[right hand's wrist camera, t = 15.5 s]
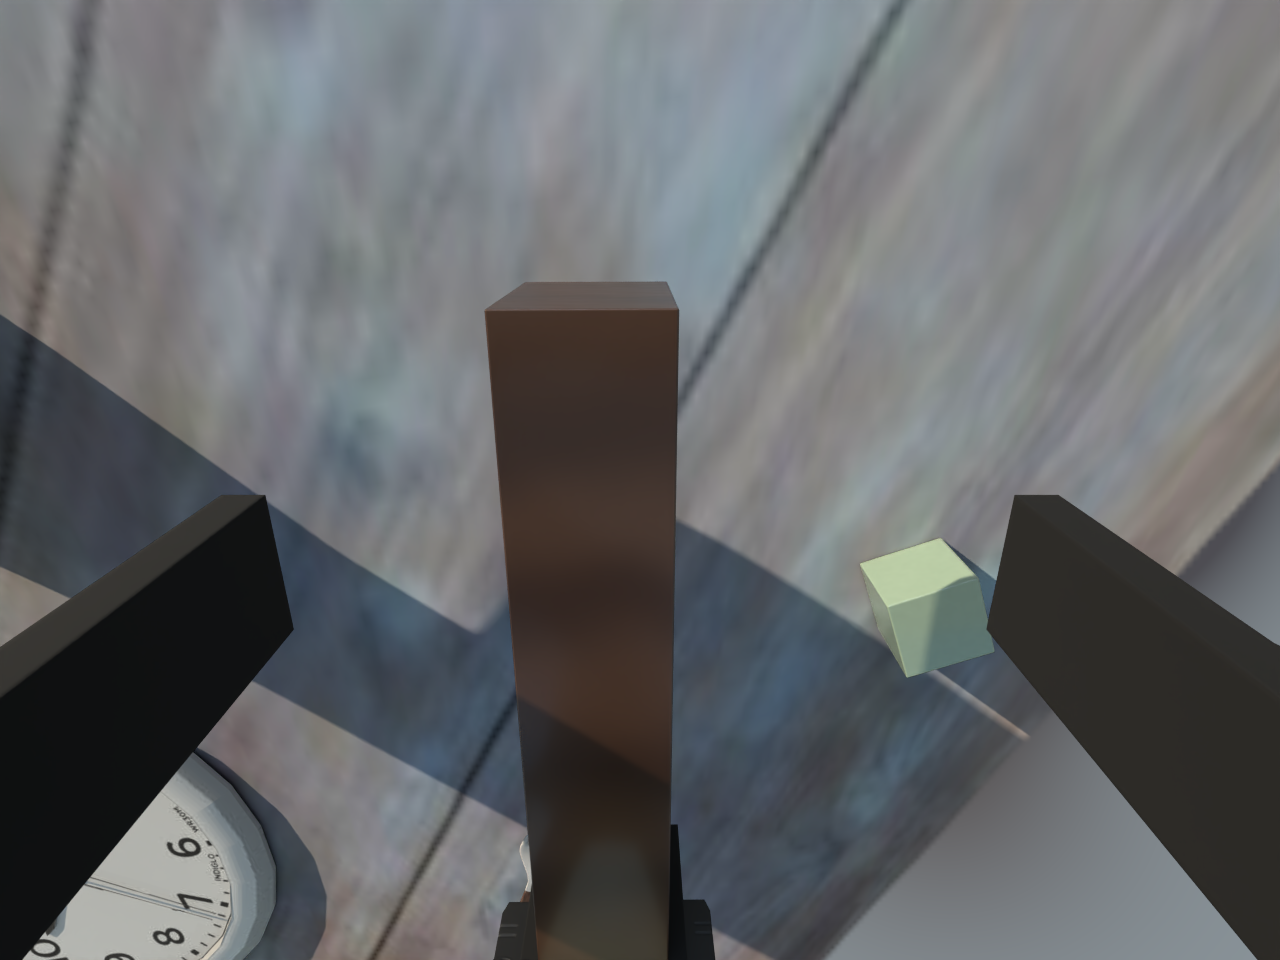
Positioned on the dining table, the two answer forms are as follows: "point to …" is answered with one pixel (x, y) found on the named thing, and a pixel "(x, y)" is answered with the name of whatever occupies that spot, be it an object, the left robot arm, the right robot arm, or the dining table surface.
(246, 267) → the dining table surface
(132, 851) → the wall clock
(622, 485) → the walnut block
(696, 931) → the left robot arm
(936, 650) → the sage block
